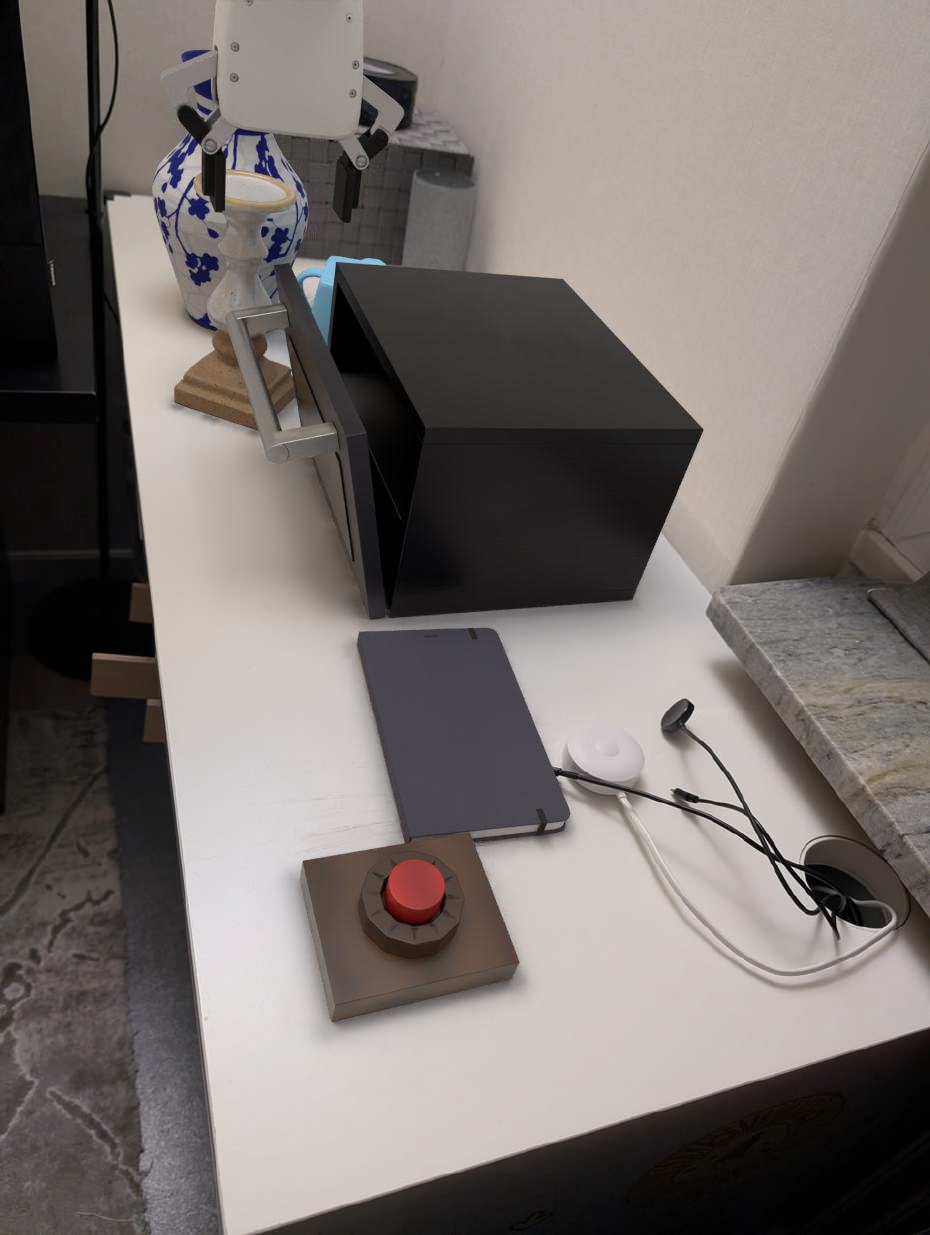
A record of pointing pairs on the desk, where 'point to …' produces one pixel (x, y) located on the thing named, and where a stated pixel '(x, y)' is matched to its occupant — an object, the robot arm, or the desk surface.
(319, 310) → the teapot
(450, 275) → the oven
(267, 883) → the desk surface
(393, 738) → the notebook
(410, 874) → the button
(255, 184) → the candle holder
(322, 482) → the oven door
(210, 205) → the vase
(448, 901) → the control block
